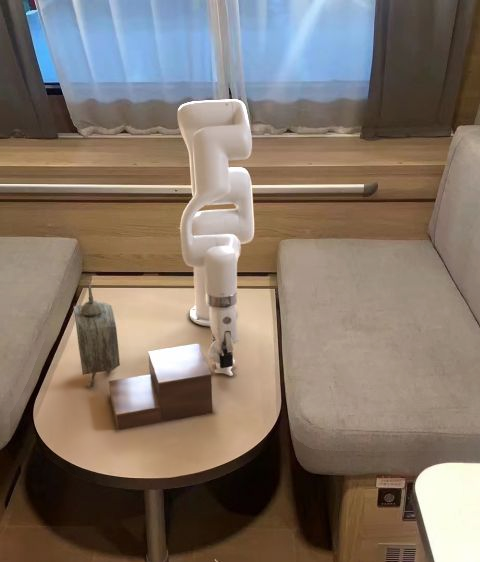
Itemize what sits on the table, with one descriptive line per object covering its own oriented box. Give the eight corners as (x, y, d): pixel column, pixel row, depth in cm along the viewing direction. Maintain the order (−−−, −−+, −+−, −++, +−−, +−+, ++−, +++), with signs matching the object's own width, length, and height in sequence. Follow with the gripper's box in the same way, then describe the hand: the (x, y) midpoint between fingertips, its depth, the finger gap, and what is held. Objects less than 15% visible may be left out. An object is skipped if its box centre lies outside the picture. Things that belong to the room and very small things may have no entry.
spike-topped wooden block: (80, 360, 195) (69, 274, 184) (115, 355, 197) (106, 269, 186) (85, 392, 183) (73, 302, 171) (122, 387, 185) (113, 297, 173)
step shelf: (110, 396, 181) (106, 357, 176) (199, 381, 186) (198, 343, 181) (118, 430, 170) (113, 390, 165) (213, 413, 174) (212, 373, 169)
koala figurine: (240, 377, 187) (240, 335, 181) (214, 381, 186) (212, 339, 180) (232, 358, 194) (231, 318, 189) (206, 362, 193) (205, 322, 188)
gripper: (246, 312, 174) (247, 376, 183) (227, 278, 189) (228, 339, 198) (215, 316, 173) (217, 381, 181) (197, 282, 188) (200, 343, 196)
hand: (222, 358), depth 189 cm, fingers closed on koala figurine, 5 cm apart
